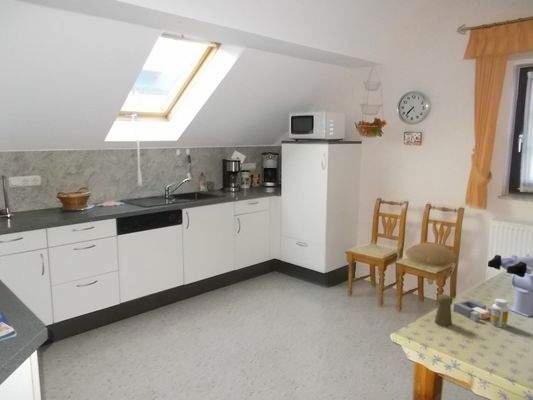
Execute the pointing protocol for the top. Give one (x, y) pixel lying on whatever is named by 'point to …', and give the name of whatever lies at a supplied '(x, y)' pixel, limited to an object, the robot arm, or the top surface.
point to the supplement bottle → (499, 313)
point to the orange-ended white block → (482, 313)
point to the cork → (444, 311)
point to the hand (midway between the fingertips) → (498, 267)
